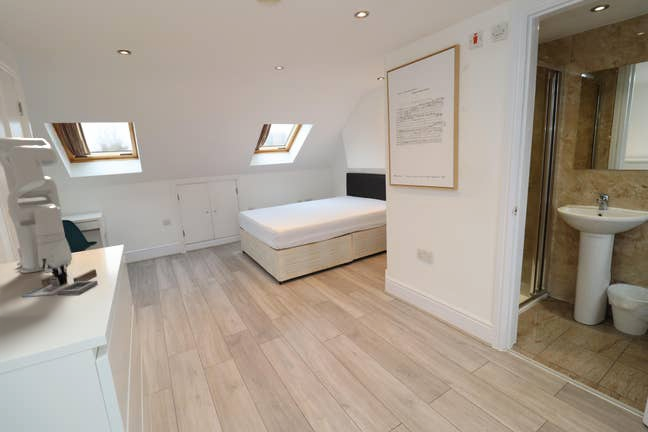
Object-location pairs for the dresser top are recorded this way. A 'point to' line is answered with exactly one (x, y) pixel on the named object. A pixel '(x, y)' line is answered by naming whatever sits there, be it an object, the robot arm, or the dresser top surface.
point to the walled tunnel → (78, 278)
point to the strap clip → (54, 284)
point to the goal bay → (37, 295)
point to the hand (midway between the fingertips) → (61, 282)
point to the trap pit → (77, 287)
